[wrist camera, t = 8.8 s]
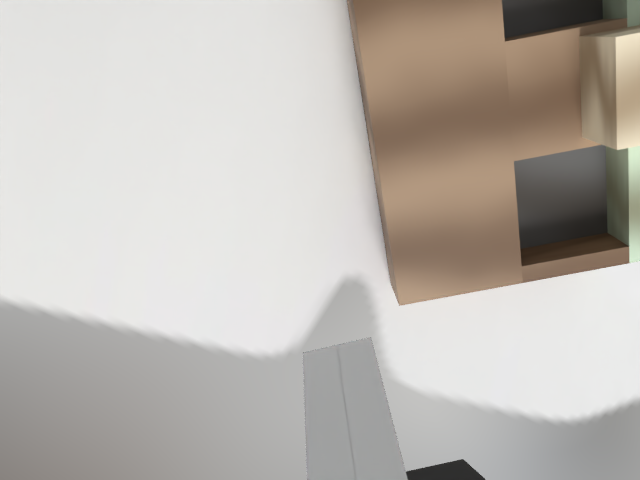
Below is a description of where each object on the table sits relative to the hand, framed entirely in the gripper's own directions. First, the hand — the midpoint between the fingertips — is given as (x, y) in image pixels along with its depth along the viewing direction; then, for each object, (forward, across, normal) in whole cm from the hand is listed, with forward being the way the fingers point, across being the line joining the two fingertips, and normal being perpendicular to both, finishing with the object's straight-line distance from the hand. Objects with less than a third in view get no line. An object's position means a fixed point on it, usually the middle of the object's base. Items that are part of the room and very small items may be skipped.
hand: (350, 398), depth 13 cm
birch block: (+19, +16, +2) cm, 25 cm away
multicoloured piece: (+22, +13, +2) cm, 26 cm away
